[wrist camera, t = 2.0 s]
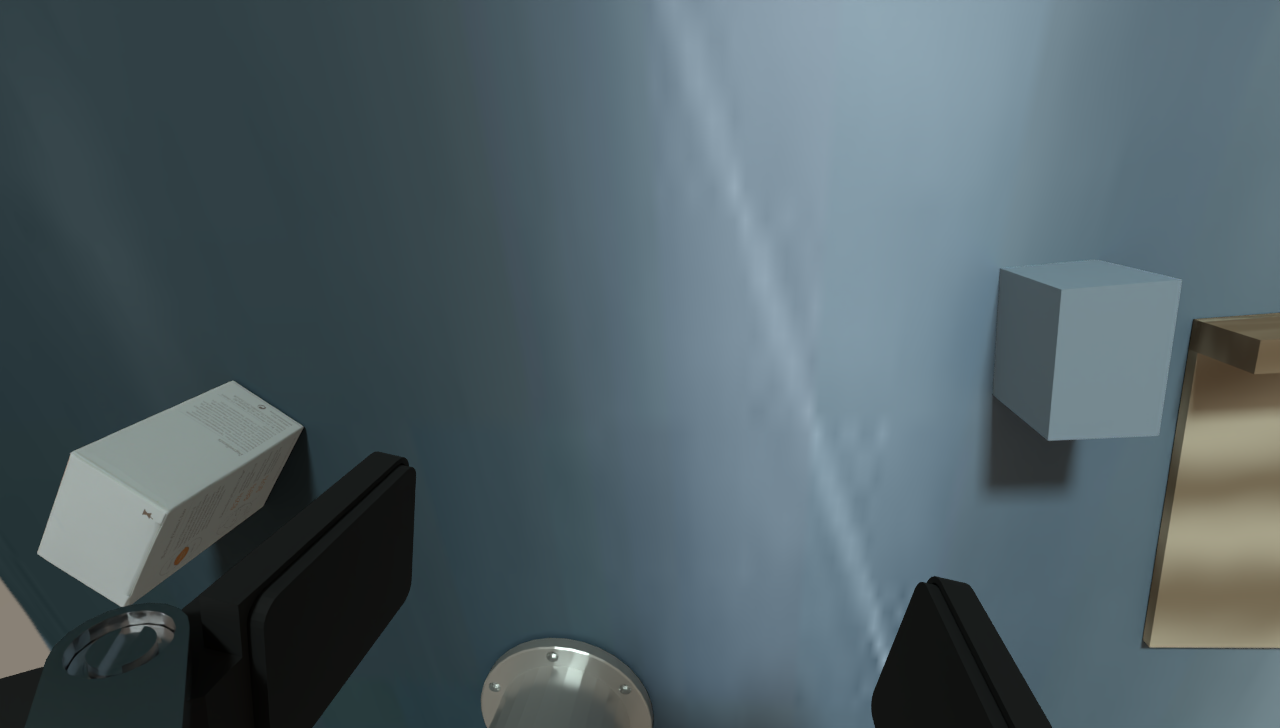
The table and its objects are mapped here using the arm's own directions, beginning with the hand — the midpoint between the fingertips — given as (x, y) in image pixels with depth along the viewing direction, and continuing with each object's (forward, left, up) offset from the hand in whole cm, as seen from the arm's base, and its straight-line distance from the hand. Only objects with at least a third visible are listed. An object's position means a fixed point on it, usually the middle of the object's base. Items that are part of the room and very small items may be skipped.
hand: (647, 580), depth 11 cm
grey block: (-3, -18, -24) cm, 30 cm away
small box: (-7, +31, -24) cm, 40 cm away
